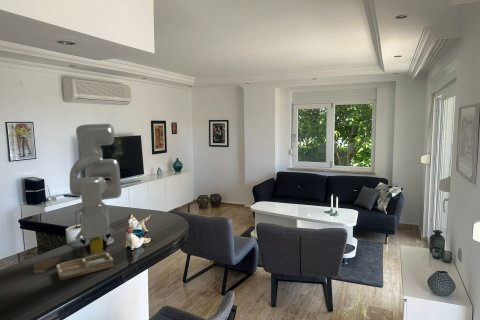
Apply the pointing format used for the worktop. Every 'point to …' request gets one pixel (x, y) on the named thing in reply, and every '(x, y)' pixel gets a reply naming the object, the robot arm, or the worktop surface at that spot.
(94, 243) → the lemon
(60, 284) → the worktop surface
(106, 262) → the tray
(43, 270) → the pottery shard
